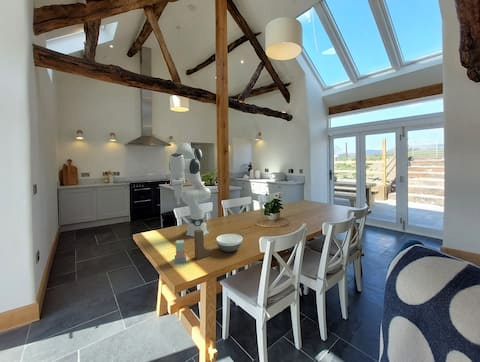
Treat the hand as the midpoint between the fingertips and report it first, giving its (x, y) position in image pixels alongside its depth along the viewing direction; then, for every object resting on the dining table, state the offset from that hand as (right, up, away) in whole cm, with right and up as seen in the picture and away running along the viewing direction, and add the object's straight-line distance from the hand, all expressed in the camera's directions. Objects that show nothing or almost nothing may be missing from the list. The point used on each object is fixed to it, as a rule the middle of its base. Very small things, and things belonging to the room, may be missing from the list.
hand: (178, 202), depth 139 cm
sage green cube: (0, -30, +3) cm, 30 cm away
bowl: (+30, -35, +21) cm, 51 cm away
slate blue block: (0, -37, +4) cm, 37 cm away
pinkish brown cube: (0, -35, +4) cm, 35 cm away
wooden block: (+13, -36, +10) cm, 40 cm away
